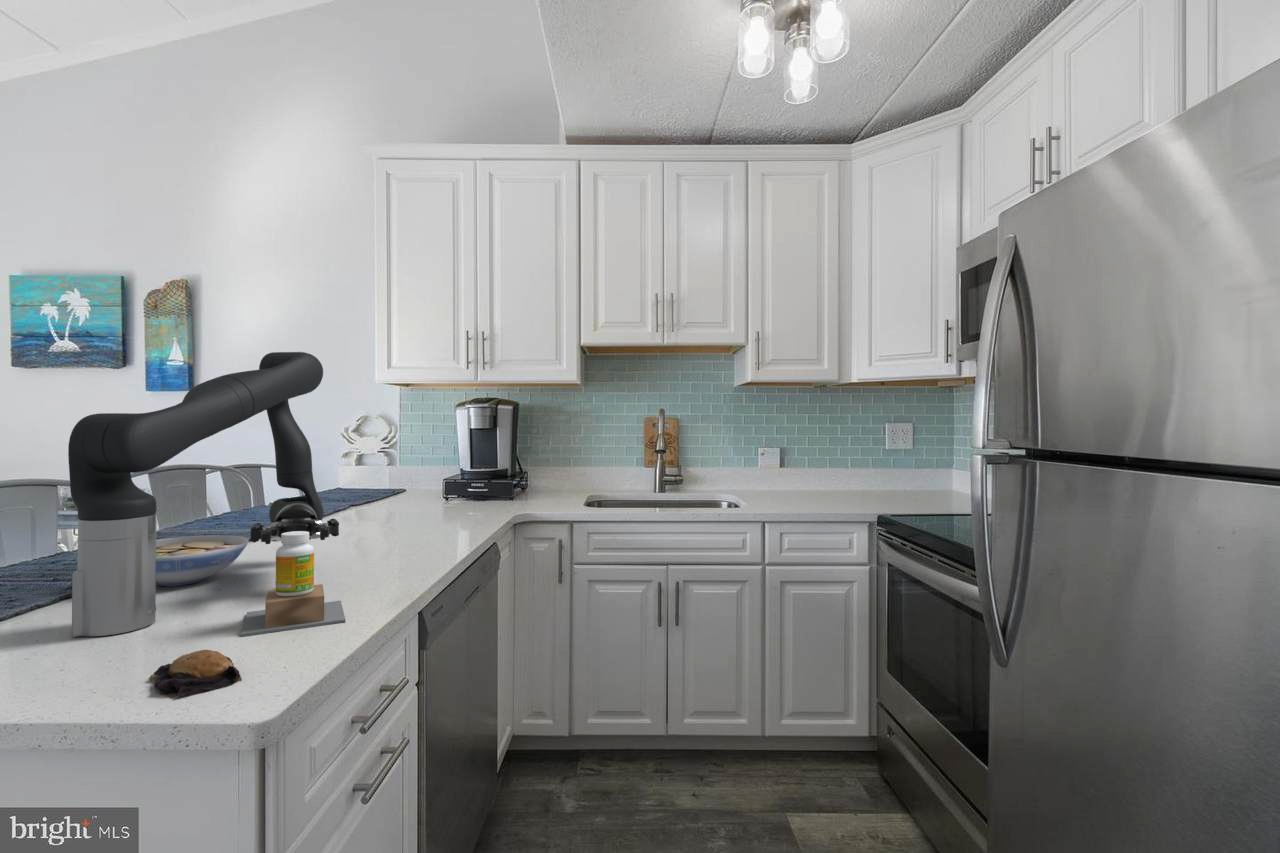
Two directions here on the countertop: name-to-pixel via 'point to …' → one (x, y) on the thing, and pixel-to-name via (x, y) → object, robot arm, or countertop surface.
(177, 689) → the bread roll
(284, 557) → the supplement bottle
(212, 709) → the countertop surface
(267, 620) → the walnut block
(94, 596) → the robot arm
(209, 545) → the ramen bowl
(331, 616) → the mat
